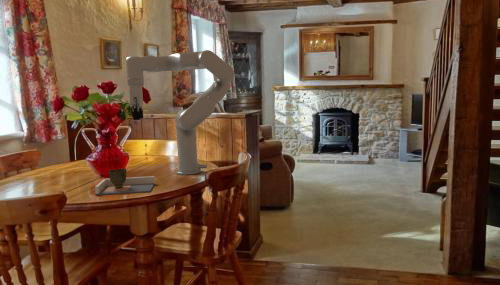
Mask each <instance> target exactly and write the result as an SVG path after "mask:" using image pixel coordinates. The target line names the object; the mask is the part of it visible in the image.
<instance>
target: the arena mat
mask: <svg viewBox="0 0 500 285" xmlns="http://www.w3.org/2000/svg"><path fill="white" fill-rule="evenodd" d="M155 184H156V183H152V184H134V185H123V187H122V188H115V187H114V186H106V187H105V188H104V189H103V190H102V191H101V192H100V193H99V194H96V193H95V196H105V195H121V194H122V195H123V194H125V195H126V194H142V193H151V191H152V190H153V188H154V186H155Z"/></svg>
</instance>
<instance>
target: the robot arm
mask: <svg viewBox="0 0 500 285" xmlns="http://www.w3.org/2000/svg"><path fill="white" fill-rule="evenodd" d="M125 65H126V66H125V67H126V79H127V82H126V83H127V87H129V94H128V95H129V107H130V108H132V120H133V121H140V120H141V119H144V108H143V106H144V97H143V96H144V95H143V87H145V81H144V72H147V73H161V72H180V71H194V70H204V69H205V70H207V71H208V72H210V73H211V74H212V77H213V83H212V84H211V85H210V86H209V88H207V89H206V90H205V91H204V92H203V93H201V94H200V95H199V96H198V97H196V98H195V99H194V100H193V102H192V104H191V105H190V106H189V107H188V108H186V109H181V110H179V111H178V112H177V113H176V114H175V118H174V125H175V130H176V143H177V144H176V145H177V161H178V165H177V166H178V169H176V170H175V174H177V175H181V176H185V175H187V176H188V175H197V174H199V173H201V172H202V169H207V168H208V167H207V166H208V165H207V163H206V164H205V163H203V164H200V163H199V161H198V149H197V132H196V128H197V127H198V126H200V125H201V124H202V123H203V122H204V121H206V120H208V118H209V117H210V116H211V115H213V113H214V112H215V110H216V105H217V104H218V103H220V101H222V100H223V99H224V98H225V97H226V95H227V93H228V92H229V91H228V90H229V88H230V83H231V81H233V80H234V78H235V71H234V68H233V67H232V66H231V65H230V64H228V63H227V62H226V61H225V60H224V59H222V58H221V57H220V56H219V55H217V54H216V53H215V52H213V51H211V50H210V49H209V50H208V49H205V50H203V51H191V52H190V51H188V52H178V53H177V52H176V53H173V54H169V55H163V56H161V55H160V56H155V55H143V56H134V55H133V56H127V57H126V59H125Z"/></svg>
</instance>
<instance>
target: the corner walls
mask: <svg viewBox="0 0 500 285" xmlns="http://www.w3.org/2000/svg"><path fill="white" fill-rule="evenodd" d="M152 183H155V176H154V175H152V176H151V175H150V176H137V177H136V176H135V177H134V176H133V177H126V181H125V183H123V185H134V184H152ZM155 184H156V183H155ZM106 186H114V184H112V183H111V181H110V178H103V179H102V180H101V181H99V183H97V184H96V185H95V186H94V191H95V195H96V194H99V193H100V192H101V191H102V190H103V189H104V188H105V187H106Z"/></svg>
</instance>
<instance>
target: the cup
mask: <svg viewBox="0 0 500 285" xmlns="http://www.w3.org/2000/svg"><path fill="white" fill-rule="evenodd" d="M107 172H108V176H109V179H110V181H111V183H112V184H114V187H115V188H122V187H123V183H125V181H126V178H127V168H117V169H116V168H114V169H112V168H111V169H109V170H108V171H107Z"/></svg>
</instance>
